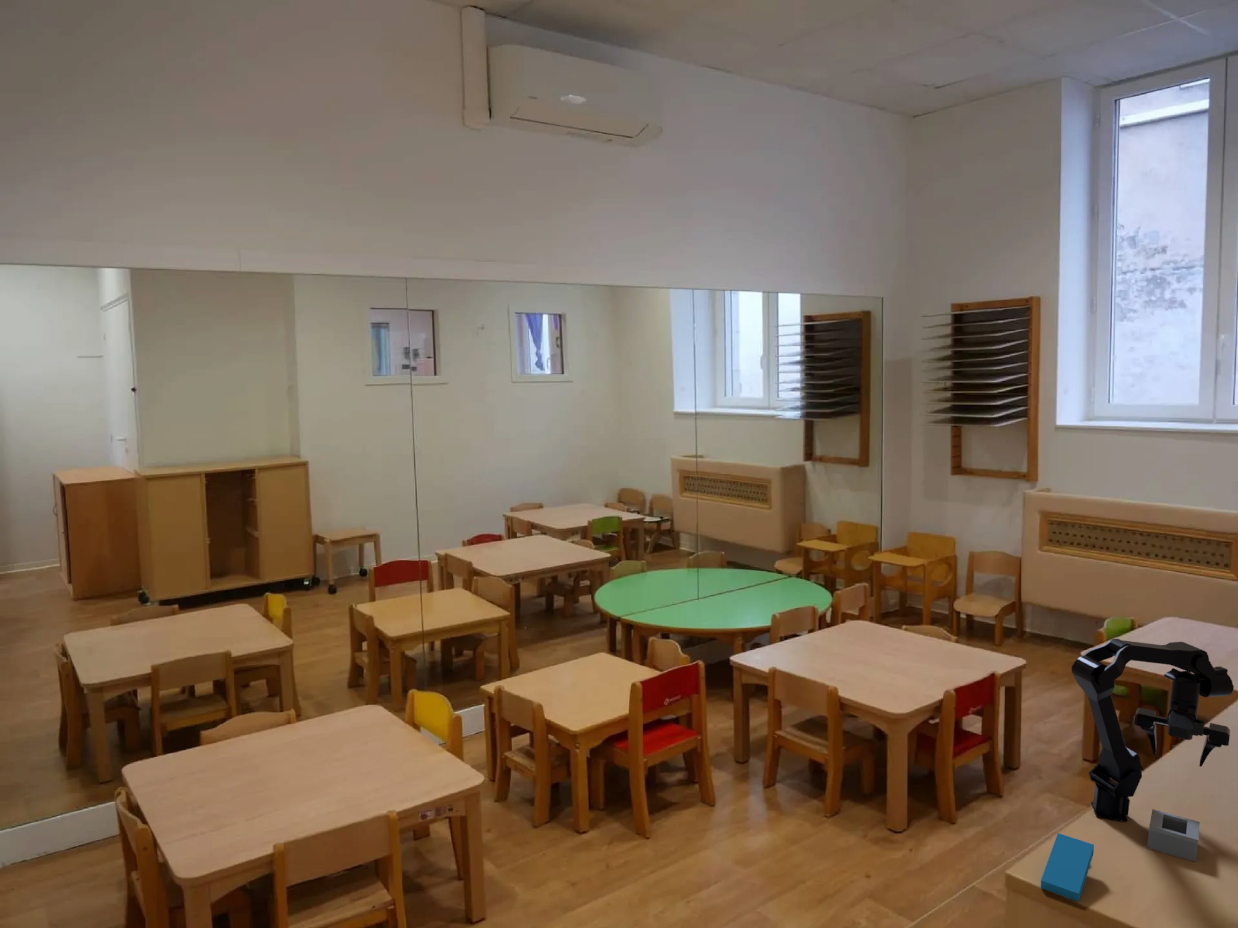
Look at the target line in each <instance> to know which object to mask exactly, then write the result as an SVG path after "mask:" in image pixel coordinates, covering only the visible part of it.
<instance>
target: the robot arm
mask: <svg viewBox="0 0 1238 928" xmlns="http://www.w3.org/2000/svg"><path fill="white" fill-rule="evenodd" d="M1113 657H1114V659H1113V661H1112V663H1110V664H1109V665H1107V664H1105V663H1102V661H1104V660H1108V659H1111V658H1113ZM1130 661H1132V662H1133V661H1134V662H1141V663H1142V662H1144V663H1151V664H1159V665H1160V664H1161V665H1169V666H1172V667H1173V668H1171V670H1169V671H1167V672H1165V673H1164V674H1163V677H1164V678H1167V679H1169V680H1171V684H1170V695H1169V703H1168V712H1167V716H1166V717H1164V716H1159V715H1156V712H1157V711H1156V710H1153V709H1148V708H1144V707H1138V708H1137V709H1136V711H1135V714H1134V721H1133V724H1134V725H1135V726H1137V727H1139V729H1140V730H1141V731H1144V732H1145V733H1146V735H1147V738H1148V740H1149V743H1150V747H1151V751H1152V754H1153V756H1156V755H1157V748H1158V747H1157V725H1158V726H1163V727H1167V735H1168V736H1170V737H1173V738H1179V739H1180V738H1181V739H1183V740H1186V741H1191V740H1192V739H1193V736H1196V737H1198V736H1199V737H1204V736H1205V740H1204V743H1203V747H1202V751H1201V755H1200V759H1199V767H1202V766H1203V765H1204V763H1205V762H1206V760H1207V758H1208V756H1209V755H1210V753H1211V752H1212V751H1213V750H1214V749H1215V748H1222V746H1225V747H1228V746H1230V744H1229V743H1230V736H1231V735H1230V732H1231V729H1230V728H1229V727H1228V726H1226V725H1221V724H1217V723H1213V722H1209V725H1208V726H1205V720H1202V719H1199V718H1198V712H1199V704H1200V698H1201V697H1203V698H1213V697H1214V698H1215V697H1216V698H1217V697H1229V696H1230V695H1232V694H1233V691H1234V688H1235V686H1234V684H1233V680H1232V679H1231V676H1229V675H1230V674H1228V670H1229V669H1227V668H1225V667H1223V666H1213V664H1212V662H1211V661H1210V657H1209V654H1208V652H1207V651H1206V650H1203V649H1202V648H1199V647H1196V646H1195V645H1192V644H1189V643H1187V642H1185V641H1174V642H1172V641H1171V642H1168V643H1166V644H1154V643H1147V642H1139V641H1129V640H1122V639H1120V638H1111V639H1110V640H1108V641H1107V642H1105V644H1102V645H1100V646H1097V647H1094V648H1091V649H1089V650H1087V651H1086V652H1085V653H1083V654H1082V655H1080V656H1079V657H1078V658H1076V660H1075V661H1074V663H1073V664H1072V665H1071V673H1072V676H1073V677H1074V679H1075V681H1076V683H1077V685H1078V686H1079V687H1080V689H1081V690H1082V691H1083V693H1084V694H1085V695H1086V697H1087V699H1088V703H1089V706H1090V710H1091V714H1092V716H1093V721H1094V723H1095V726H1096V730H1097V734H1098V737H1099V740H1100V743H1101V746H1102V748H1101V751H1100V752H1099V755H1098V759H1099V762H1098V763H1097V764H1096V765H1095V766H1094V767H1093V768H1092V769H1091V770H1090V771H1088V775H1089V779H1090V781H1091V782H1093V783H1094V791H1093V800H1092V801H1091V802H1090V805H1091V808H1092V809H1094V810H1093V812H1094V814H1095V817H1097V818H1101V819H1109V820H1113V821H1119V822H1121V821H1122V822H1128V816H1129V813H1130V812H1129V811H1130V803H1131V801H1130V798H1131V797H1134V795H1135V794H1136V790H1137V788H1138V786H1139V784H1140V782H1141V779H1142V777H1143V774H1142V773H1143V772H1142V771H1144V767H1143V766H1142V764H1141V758H1140V756H1139V754H1138V753H1137V752H1135V751H1134V750H1132V749H1131V748H1128V747H1127V746H1126V741H1125V739H1124V736H1123V731H1122V728H1121V725H1120V722H1119V718H1118V715H1117V711H1116V708H1115V704H1114V701H1113V697H1112V694H1113V692H1114V689H1115V687H1116V684H1115V680H1117V679H1118V678H1119V677H1121V676H1122V675H1123V673H1124V671H1125V668H1126V666H1127V664H1129V662H1130ZM1174 667H1175V668H1174ZM1176 668H1177V669H1176ZM1178 669H1180V670H1178ZM1200 696H1201V697H1200Z"/></svg>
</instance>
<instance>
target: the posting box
mask: <svg viewBox="0 0 1238 928" xmlns="http://www.w3.org/2000/svg"><path fill="white" fill-rule="evenodd" d="M1150 815H1151V816H1150V822H1149V828H1148V836H1147V843H1146V844H1147V845H1146V848H1147V849H1149V850H1154V851H1157V852H1160V853H1164V854H1167V855H1171V856H1174V857H1176V858H1177V857H1178V858H1181V859H1184V860H1187V861H1192V862H1194V863H1196V862H1197V856H1198V849H1199V840H1200V838H1199V837H1200V823H1201V822H1200V821H1197V820H1194V819H1191V818H1186V817H1183V816H1179V815H1176V814H1172V813H1168V812H1165V811H1160V810H1157V809H1153V808H1152V809H1151V814H1150ZM1168 829H1170V830H1168ZM1172 830H1173V831H1172ZM1175 831H1176V832H1175ZM1179 832H1180V833H1179Z"/></svg>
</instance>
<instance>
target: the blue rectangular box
mask: <svg viewBox="0 0 1238 928" xmlns="http://www.w3.org/2000/svg"><path fill="white" fill-rule="evenodd" d="M1094 848H1095V845H1094V844H1093V843H1090V842H1088V841H1084V840H1081V839H1078V838H1074V837H1072V836H1069V835H1065V834H1062V833H1059V832H1058V833H1057V835H1056V837H1055V840H1054V842H1053V845H1052V848H1051V851H1050V853H1049V857H1048V860H1047V862H1046V865H1045V868H1044V871H1043V874H1042V876H1041V879H1040V889H1043V890H1046V891H1047V892H1051V893H1054V894H1056V895H1059V896H1061V895H1062V896H1061V897H1065V898H1066V899H1070V900H1072V901H1075V902H1080V899H1081V896H1082V892H1083V890H1084V887H1085V882H1086V878H1087V877H1088V873H1089V871H1090V870H1089V869H1090V865H1091V863H1092V860H1093V857H1094V852H1095V851H1094V850H1095V849H1094Z"/></svg>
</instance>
